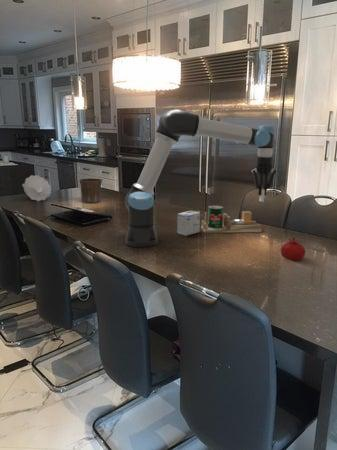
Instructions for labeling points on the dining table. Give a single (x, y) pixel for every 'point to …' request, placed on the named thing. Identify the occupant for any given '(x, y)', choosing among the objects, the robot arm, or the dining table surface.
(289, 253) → the pomegranate
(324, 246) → the dining table surface
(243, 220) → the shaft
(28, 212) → the dining table surface
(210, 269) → the dining table surface
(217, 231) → the base
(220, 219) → the canned tomato
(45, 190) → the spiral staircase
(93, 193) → the plant pot
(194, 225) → the light bulb box
